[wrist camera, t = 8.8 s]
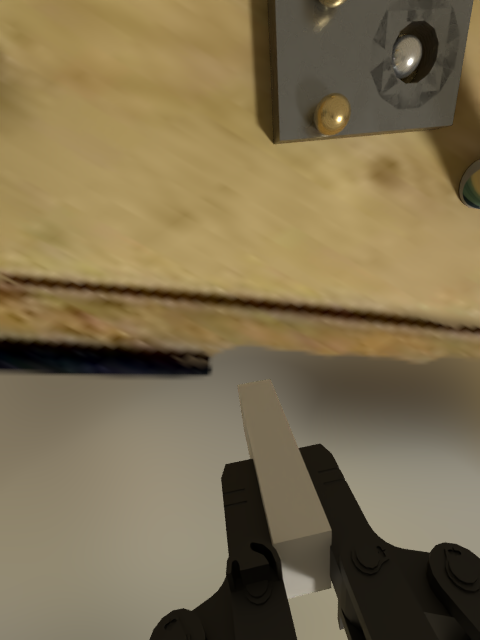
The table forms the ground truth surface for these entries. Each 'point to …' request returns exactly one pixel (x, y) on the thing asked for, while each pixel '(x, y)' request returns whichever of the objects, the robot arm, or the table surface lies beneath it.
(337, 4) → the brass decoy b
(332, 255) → the table surface
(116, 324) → the table surface
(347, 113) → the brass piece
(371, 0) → the bearing plate
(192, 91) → the table surface
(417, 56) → the steel ball
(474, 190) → the lotion bottle
